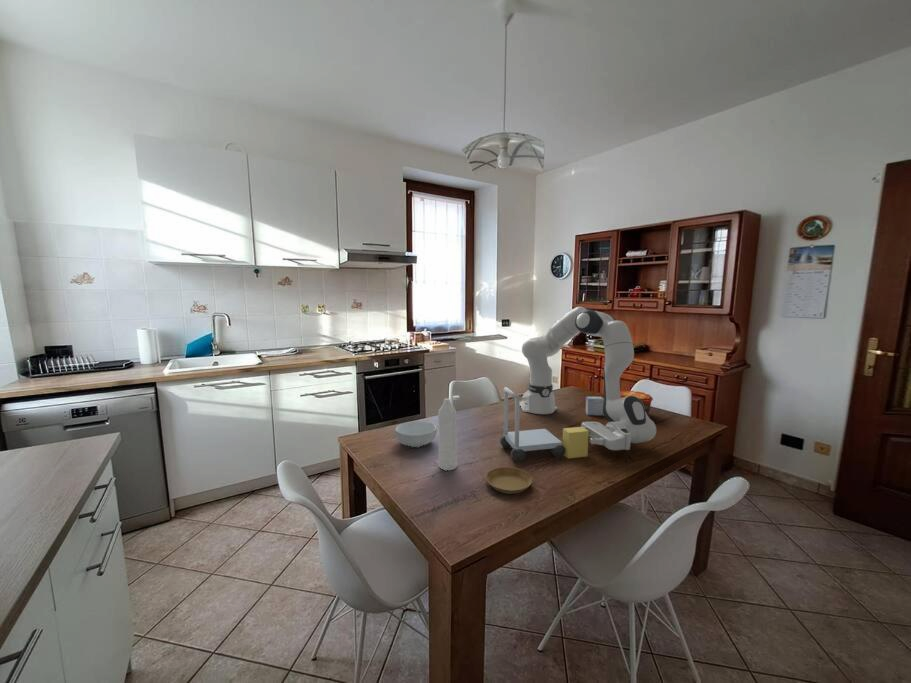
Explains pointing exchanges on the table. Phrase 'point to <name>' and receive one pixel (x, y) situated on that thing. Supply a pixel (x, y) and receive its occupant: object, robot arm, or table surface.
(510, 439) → the trolley
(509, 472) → the plant saucer
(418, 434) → the cereal bowl
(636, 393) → the food container
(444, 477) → the table surface
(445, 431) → the water bottle
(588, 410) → the medicine box
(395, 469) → the table surface
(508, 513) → the table surface
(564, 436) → the yellow rectangular block
